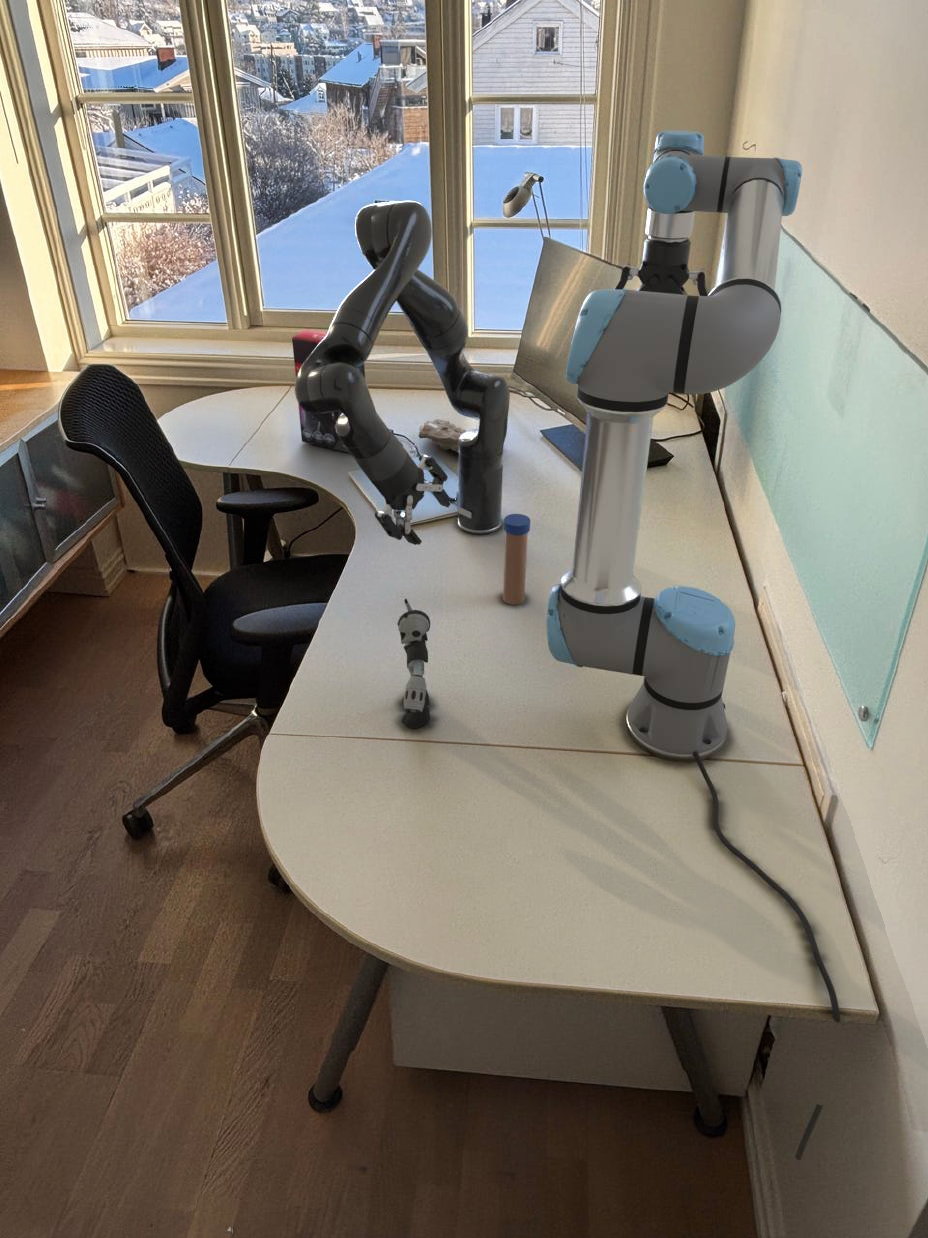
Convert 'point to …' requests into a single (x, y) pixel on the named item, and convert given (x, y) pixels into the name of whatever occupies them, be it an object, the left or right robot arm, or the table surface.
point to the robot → (415, 666)
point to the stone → (442, 434)
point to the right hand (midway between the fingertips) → (652, 364)
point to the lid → (517, 524)
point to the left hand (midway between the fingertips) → (431, 523)
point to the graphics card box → (316, 425)
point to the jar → (515, 568)
